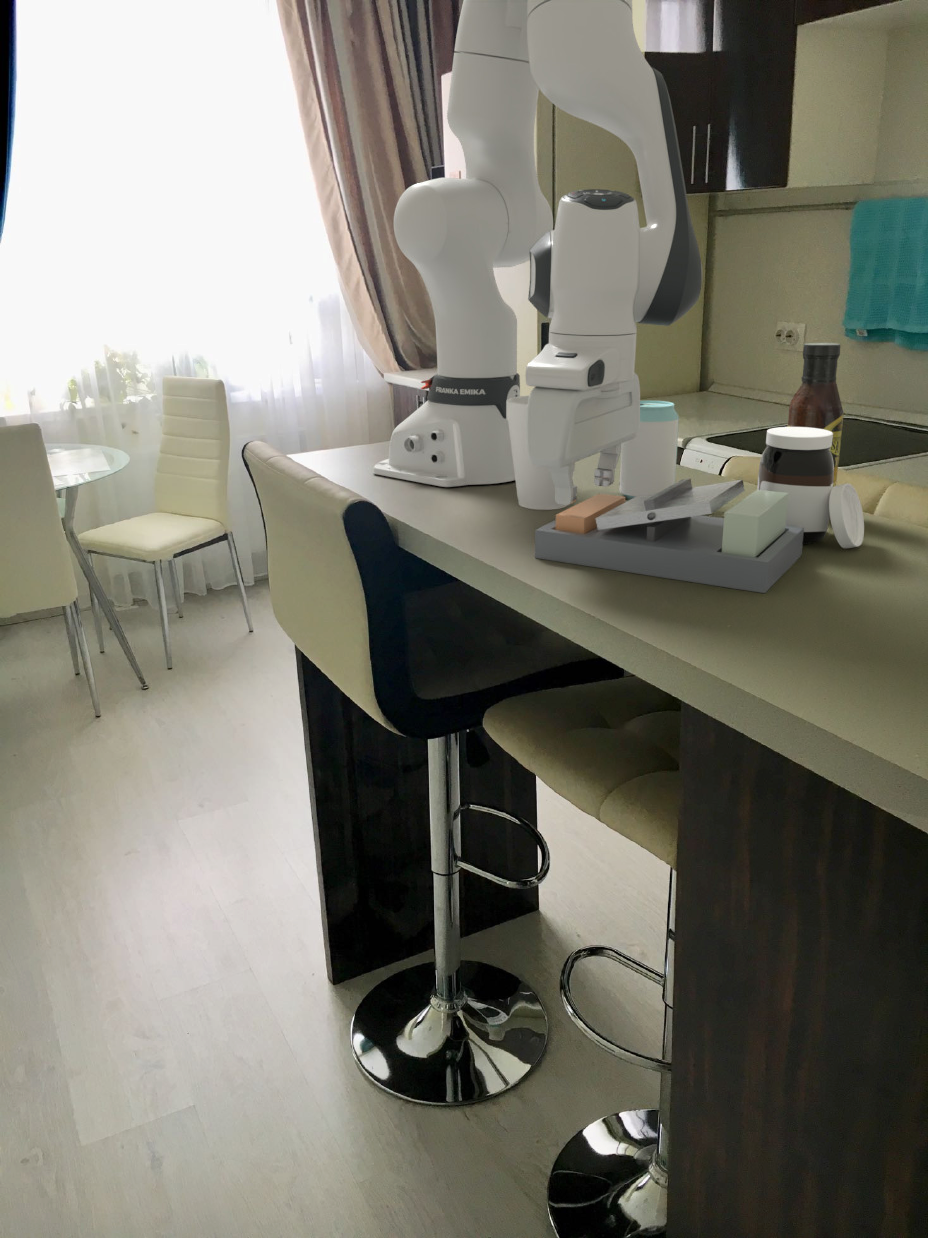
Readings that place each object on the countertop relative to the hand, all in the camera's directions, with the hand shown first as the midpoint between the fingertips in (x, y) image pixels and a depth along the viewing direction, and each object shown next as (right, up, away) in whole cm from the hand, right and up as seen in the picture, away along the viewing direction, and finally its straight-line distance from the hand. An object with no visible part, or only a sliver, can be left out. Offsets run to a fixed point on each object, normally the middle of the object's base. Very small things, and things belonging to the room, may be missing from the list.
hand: (585, 493), depth 108 cm
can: (+11, +2, +23) cm, 26 cm away
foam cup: (-3, +1, +20) cm, 21 cm away
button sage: (+16, -6, -8) cm, 19 cm away
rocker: (+8, -2, -4) cm, 10 cm away
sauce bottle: (+29, -1, +15) cm, 32 cm away
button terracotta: (+1, -5, +2) cm, 5 cm away
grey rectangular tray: (+8, -7, -3) cm, 11 cm away
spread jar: (+25, -5, +4) cm, 26 cm away
